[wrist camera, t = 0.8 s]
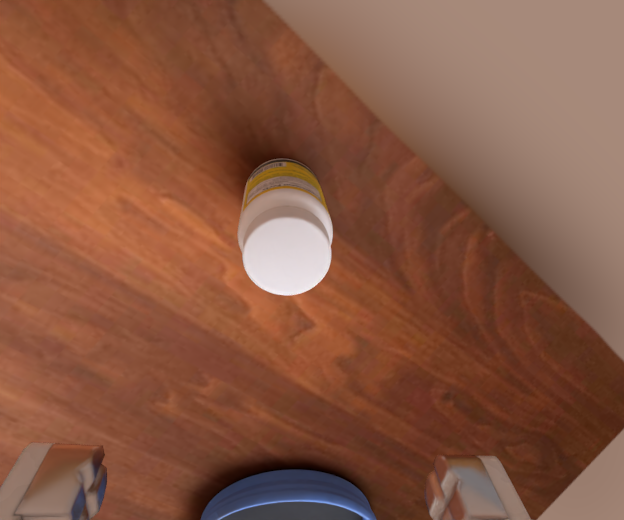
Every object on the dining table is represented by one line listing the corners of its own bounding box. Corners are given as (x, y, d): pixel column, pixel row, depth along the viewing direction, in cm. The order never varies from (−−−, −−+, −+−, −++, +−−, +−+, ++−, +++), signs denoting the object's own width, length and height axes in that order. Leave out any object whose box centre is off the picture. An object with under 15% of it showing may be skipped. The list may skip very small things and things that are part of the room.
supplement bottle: (302, 240, 28) (312, 316, 20) (233, 214, 26) (217, 285, 19) (334, 174, 26) (358, 232, 18) (261, 143, 24) (256, 192, 17)
